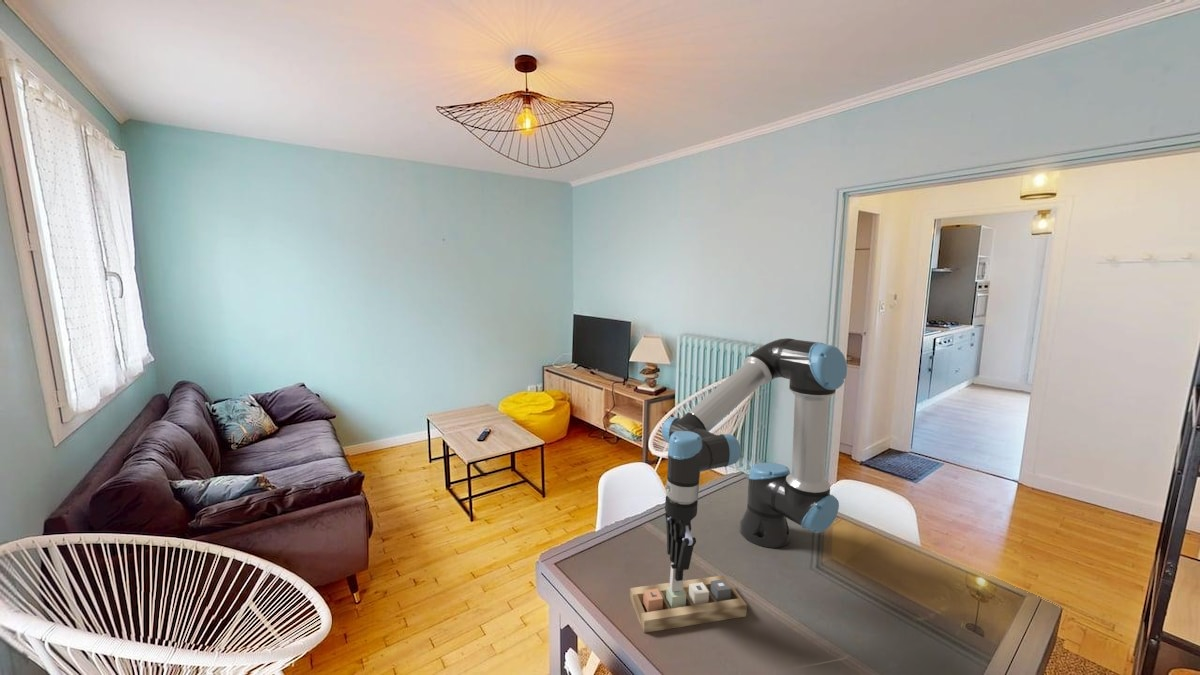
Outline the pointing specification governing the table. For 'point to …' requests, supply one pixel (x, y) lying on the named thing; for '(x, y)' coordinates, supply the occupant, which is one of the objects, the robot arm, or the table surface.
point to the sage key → (676, 598)
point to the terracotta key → (652, 600)
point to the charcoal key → (720, 590)
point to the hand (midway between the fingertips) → (675, 588)
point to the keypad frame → (686, 607)
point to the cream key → (698, 593)
